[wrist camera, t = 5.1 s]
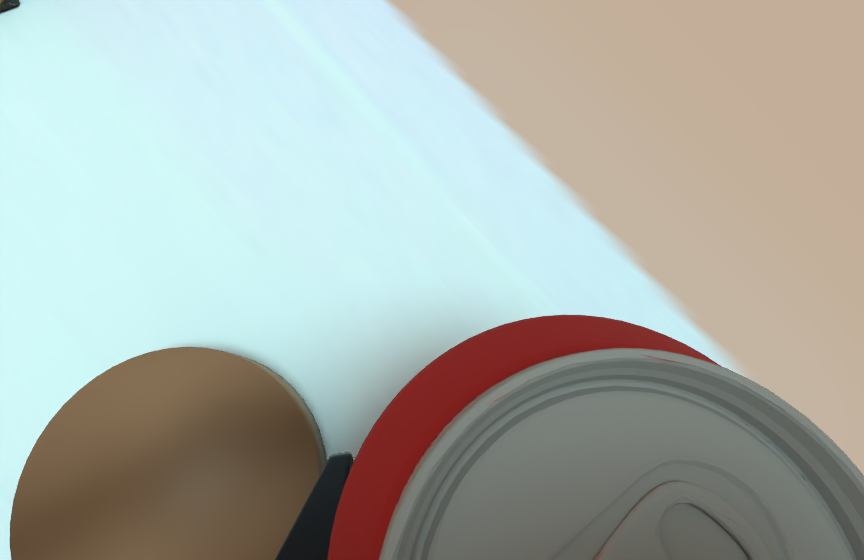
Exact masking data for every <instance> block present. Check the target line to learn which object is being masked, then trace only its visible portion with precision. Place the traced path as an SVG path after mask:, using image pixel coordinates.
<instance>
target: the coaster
mask: <svg viewBox="0 0 864 560" xmlns="http://www.w3.org/2000/svg"><path fill="white" fill-rule="evenodd" d="M325 465H326V456H325V450H324V445H323V442H322V438H321V435H320V431H319V429H318V426H317V424H316V422H315V419H314V417H313V415H312V413H311V412H310V410H309V408H308V407H307V405H306V403H305V402H304V400H303V399H302V398H301V397H300V395H299V394H298V393H297V392H296V390H295V389H294V388H293V387H292V386H291V385H290V384H289V383H288V382H286V381H285V380H284V379H283V378H282V377H281V376H279V375H278V374H276V373H275V372H273V371H272V370H271V369H269V368H267V367H265V366H263V365H261V364H259V363H257V362H255V361H253V360H250V359H246V358H243V357H240V356H237V355H234V354H230V353H227V352H223V351H219V350H213V349H208V348H196V347H181V348H168V349H163V350H158V351H153V352H149V353H146V354H143V355H140V356H137V357H134V358H131V359H129V360H127V361H125V362H122V363H120V364H118V365H116V366H114V367H112V368H110V369H109V370H107V371H105V372H104V373H102V374H101V375H99V376H97V377H96V378H94V379H93V380H92V381H90V382H89V383H88V384H87V385H85V386H84V387H83V388H81V389H80V390H79V391H78V392H77V393H76V394H75V395H74V396H73V397H72V398H70V399H69V400H68V401H67V402H66V403H65V404H64V405H63V406H62V408H61V409H60V410H59V411H58V412H57V414H56V415H55V416H54V417H53V418H52V419H51V421H50V422H49V423H48V425H47V426H46V428H45V429H44V431H43V432H42V434H41V435H40V437H39V438H38V440H37V442H36V444H35V445H34V447H33V449H32V451H31V453H30V455H29V457H28V459H27V461H26V464H25V466H24V469H23V471H22V474H21V476H20V479H19V482H18V486H17V490H16V493H15V497H14V501H13V507H12V514H11V521H10V550H11V559H12V560H274V559H275V558H276V556H277V554H278V552H279V550H280V548H281V546H282V545H283V543H284V541H285V539H286V537H287V535H288V533H289V532H290V530H291V528H292V526H293V524H294V522H295V520H296V519H297V517H298V515H299V513H300V511H301V509H302V507H303V505H304V504H305V502H306V500H307V498H308V496H309V494H310V492H311V491H312V489H313V487H314V485H315V483H316V481H317V479H318V478H319V476H320V474H321V472H322V470H323V468H324V466H325Z"/></svg>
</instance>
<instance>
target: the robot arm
mask: <svg viewBox="0 0 864 560" xmlns="http://www.w3.org/2000/svg"><path fill="white" fill-rule="evenodd" d="M353 463H354V462H353V458H352V455H351V453H349V452H345V453H339V454H334V455H332V456H330V457H329V459H328V461H327V463H326V465H325V466H324V468H323V470H322V472H321V474H320V476H319V478H318V479H317V481H316V483H315V485H314V487H313V489H312V491H311V492H310V494H309V496H308V498H307V500H306V502H305V504H304V505H303V507H302V509H301V511H300V513H299V515H298V517H297V519H296V520H295V522H294V524H293V526H292V528H291V530H290V532H289V533H288V535H287V537H286V539H285V541H284V543H283V545H282V546H281V548H280V550H279V552H278V554H277V556H276V558H275V559H274V560H327V559H328V552H329V545H330V538H331V533H332V529H333V524H334V520H335V515H336V511H337V507H338V504H339V501H340V498H341V494H342V491H343V488H344V485H345V483H346V480H347V478H348V475H349V473H350V470H351V468H352V465H353Z"/></svg>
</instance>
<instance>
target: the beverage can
mask: <svg viewBox="0 0 864 560" xmlns="http://www.w3.org/2000/svg"><path fill="white" fill-rule="evenodd" d="M327 560H864V476H863V474H862V473H861V472H860V470H859V469H858V468H857V467H856V466H855V465H854V464H853V462H852V461H851V460H850V459H849V458H848V457H847V455H846V454H845V453H844V452H843V451H842V450H841V449H840V448H839V447H838V446H837V445H836V444H835V443H834V442H833V441H832V440H831V439H830V438H829V437H828V436H827V435H826V434H825V433H824V432H823V431H822V430H820V429H819V428H818V427H817V426H816V425H815V424H814V423H813V422H811V421H810V420H809V419H808V418H807V417H806V416H804V415H803V414H802V413H800V412H799V411H798V410H796V409H795V408H793V407H792V406H791V405H789V404H788V403H787V402H785V401H784V400H782V399H781V398H779V397H778V396H776V395H775V394H774V393H772V392H771V391H769V390H768V389H766V388H764V387H762V386H760V385H758V384H757V383H755V382H753V381H751V380H749V379H747V378H745V377H743V376H741V375H739V374H737V373H735V372H733V371H731V370H729V369H726V368H724V367H722V366H720V365H719V364H717V363H715V362H714V361H712V360H711V359H709V358H708V357H706V356H705V355H703V354H702V353H700V352H698V351H696V350H694V349H693V348H691V347H689V346H687V345H685V344H683V343H681V342H679V341H677V340H675V339H673V338H670V337H668V336H666V335H664V334H661V333H658V332H655V331H653V330H650V329H647V328H645V327H642V326H638V325H635V324H631V323H627V322H624V321H619V320H614V319H609V318H604V317H595V316H585V315H555V316H542V317H536V318H530V319H524V320H520V321H516V322H512V323H508V324H504V325H501V326H498V327H496V328H493V329H490V330H487V331H485V332H482V333H480V334H478V335H476V336H474V337H471V338H469V339H467V340H465V341H464V342H462V343H460V344H458V345H457V346H455V347H453V348H451V349H450V350H448V351H447V352H445V353H444V354H442V355H441V356H440V357H438V358H437V359H435V360H434V361H433V362H431V363H430V364H429V365H428V366H426V367H425V368H424V369H423V370H422V371H420V372H419V373H418V374H417V375H416V376H415V377H414V378H413V379H412V380H411V381H410V382H409V383H408V384H407V385H406V386H405V387H404V388H403V389H402V390H401V391H400V392H399V393H398V395H397V396H396V397H395V398H394V399H393V400H392V402H391V403H390V404H389V405H388V406H387V408H386V409H385V410H384V412H383V413H382V415H381V416H380V417H379V419H378V420H377V422H376V423H375V425H374V426H373V428H372V430H371V431H370V433H369V435H368V436H367V438H366V440H365V441H364V443H363V445H362V447H361V449H360V451H359V453H358V455H357V457H356V459H355V461H354V463H353V465H352V468H351V470H350V473H349V475H348V478H347V480H346V483H345V485H344V488H343V491H342V494H341V498H340V501H339V504H338V507H337V511H336V515H335V520H334V524H333V529H332V533H331V538H330V545H329V552H328V559H327Z"/></svg>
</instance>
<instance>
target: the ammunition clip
mask: <svg viewBox="0 0 864 560" xmlns="http://www.w3.org/2000/svg"><path fill="white" fill-rule="evenodd" d="M18 4H20V2H19V0H0V11H2V10H5V9H7V8H10V7H13V6H16V5H18Z"/></svg>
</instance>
